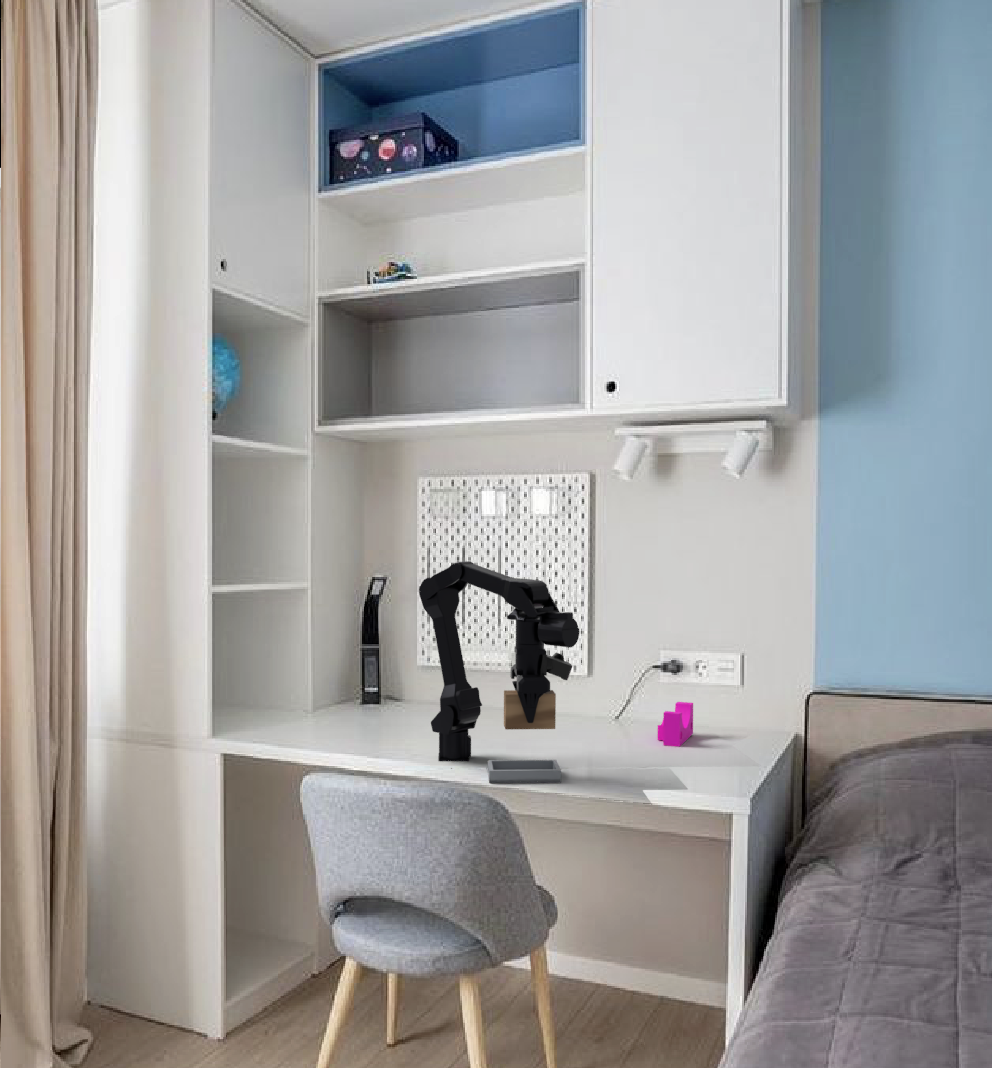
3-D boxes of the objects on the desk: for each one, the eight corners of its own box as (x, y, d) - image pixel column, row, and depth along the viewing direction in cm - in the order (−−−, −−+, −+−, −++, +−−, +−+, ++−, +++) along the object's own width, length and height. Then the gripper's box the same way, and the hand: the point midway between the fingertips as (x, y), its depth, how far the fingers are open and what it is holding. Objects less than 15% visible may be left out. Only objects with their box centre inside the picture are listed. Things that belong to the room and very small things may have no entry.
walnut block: (555, 729, 196) (555, 694, 196) (505, 729, 195) (505, 694, 195) (552, 724, 200) (552, 690, 200) (503, 724, 200) (503, 690, 200)
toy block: (667, 731, 241) (667, 700, 241) (693, 733, 238) (693, 702, 238) (652, 744, 227) (652, 711, 227) (679, 746, 225) (679, 713, 225)
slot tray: (489, 783, 192) (489, 770, 192) (487, 771, 201) (487, 760, 201) (560, 782, 193) (560, 770, 193) (556, 771, 201) (556, 759, 201)
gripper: (576, 649, 189) (575, 729, 189) (562, 637, 207) (562, 710, 208) (518, 649, 188) (518, 730, 188) (510, 637, 207) (510, 711, 207)
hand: (529, 720), depth 198 cm, fingers closed on walnut block, 4 cm apart
